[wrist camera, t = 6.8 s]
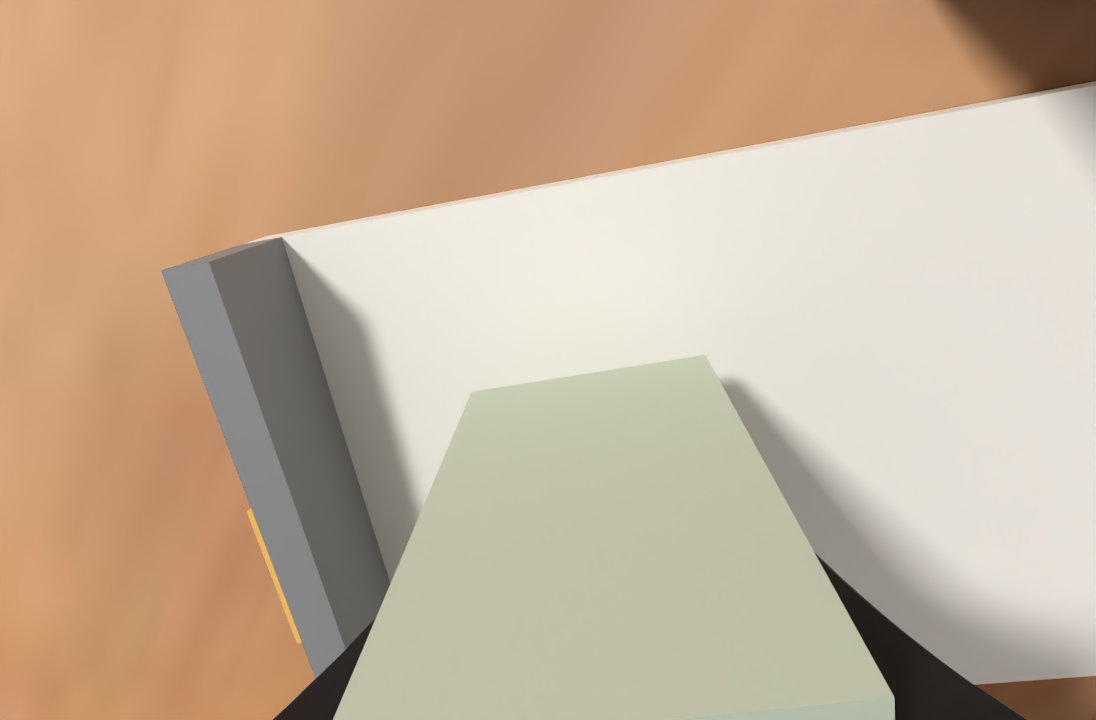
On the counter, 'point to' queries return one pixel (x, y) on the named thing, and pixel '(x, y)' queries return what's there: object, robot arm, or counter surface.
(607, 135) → the counter surface
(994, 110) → the shelf board
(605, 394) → the carton
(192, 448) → the counter surface
